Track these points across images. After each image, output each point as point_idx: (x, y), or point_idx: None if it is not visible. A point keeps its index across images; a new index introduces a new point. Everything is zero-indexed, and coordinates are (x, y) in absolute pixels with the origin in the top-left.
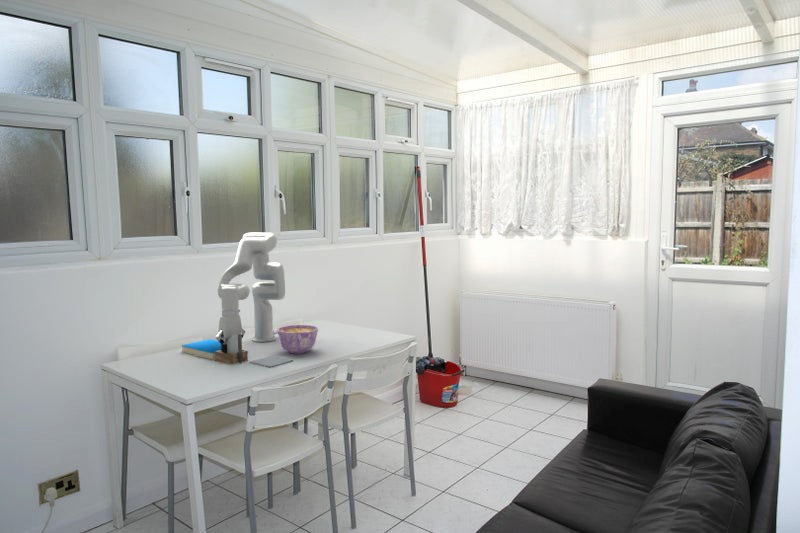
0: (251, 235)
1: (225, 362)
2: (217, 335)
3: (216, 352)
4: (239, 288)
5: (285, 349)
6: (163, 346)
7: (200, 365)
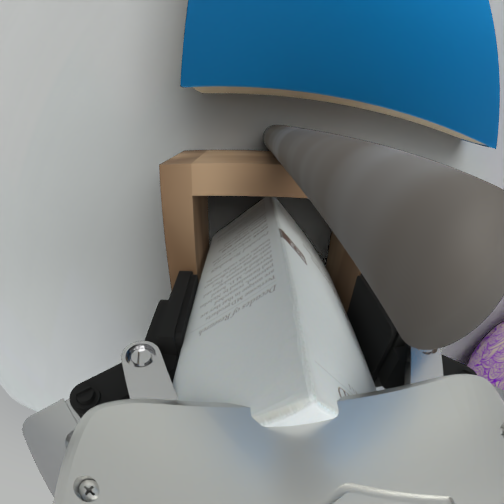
0: None
1: None
2: (40, 460)
3: (162, 190)
4: None
5: (472, 362)
6: None
7: (56, 180)
